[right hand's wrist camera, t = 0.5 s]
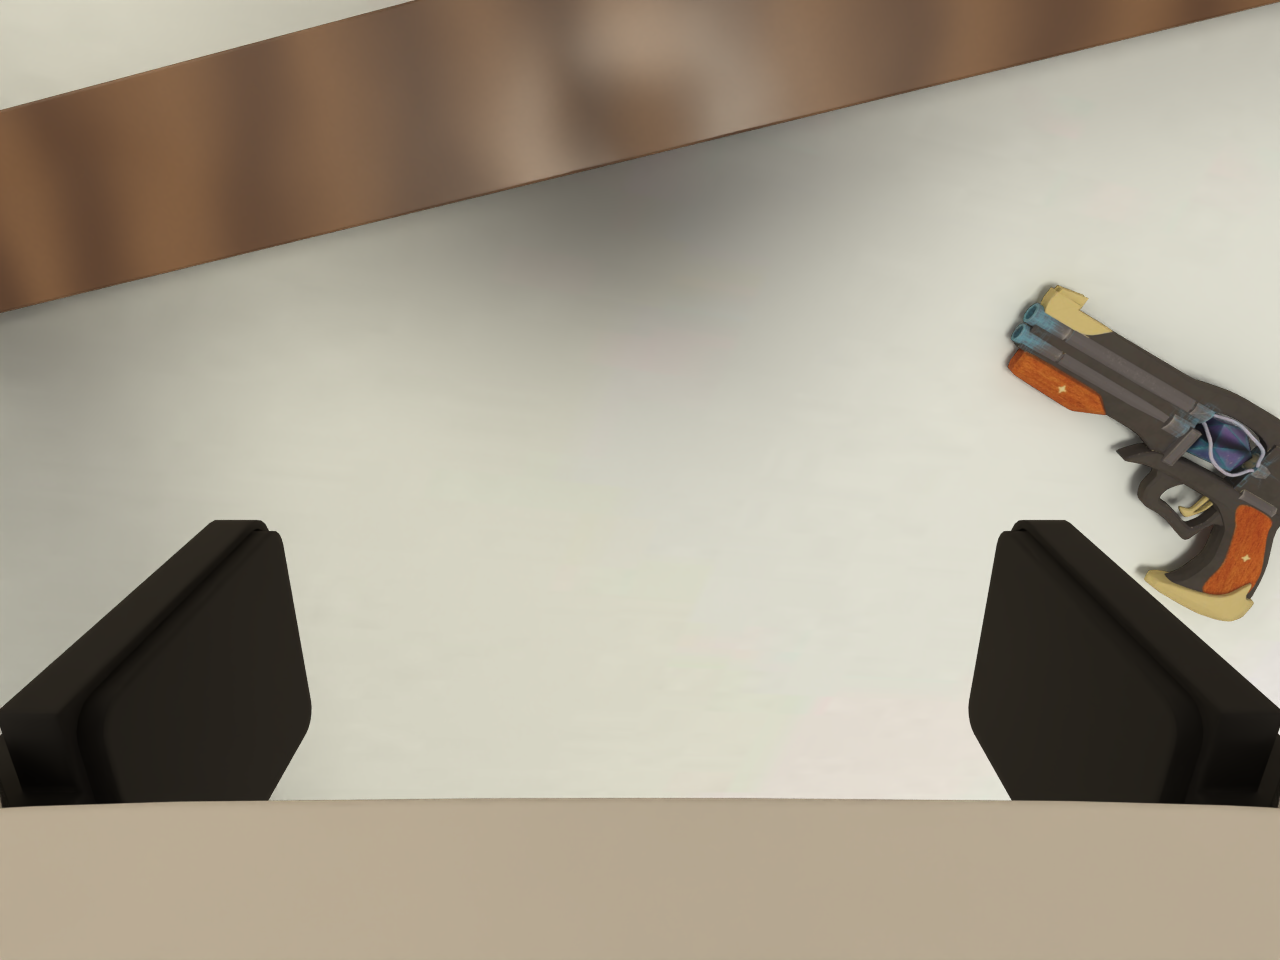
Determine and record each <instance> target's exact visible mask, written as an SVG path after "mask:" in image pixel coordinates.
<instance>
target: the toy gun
mask: <svg viewBox="0 0 1280 960" xmlns="http://www.w3.org/2000/svg"><path fill="white" fill-rule="evenodd" d="M1088 299H1089V298H1087V297H1084V295H1082V294H1080V293H1077V292H1074V291H1072V290H1069V289H1066V288H1064V287H1061V286H1058V285H1057V286H1056V287H1055V289H1054V288H1052V287H1051V288H1050V289H1049V291H1048V292H1047V293H1046V295H1045V296H1044V298H1043V299H1042V301H1041V304H1039V303H1035V304H1033V305H1032V306H1031V307H1030V308H1029V309H1028V310H1027V311H1026V313H1025V315H1024V318H1023V320H1024V322H1025V323H1027V324H1028V325H1026V324H1024V323H1022V324H1020V325H1019V326H1017V327H1016V329H1015V330H1014V332H1013V333H1012V336H1011V340H1012V341H1014V344H1015V345H1016V346H1017V347H1019V350H1018V351H1017V352H1016V354H1015V355H1014V356H1013V357H1012V359H1011V360H1010V362H1009V365H1008V368H1009V369H1010V370H1011V372H1012V373H1013V374H1014V375H1016V376H1017V377H1018V378H1020V379H1022V380H1023V381H1025V382H1026V383H1028V384H1029V385H1031V386H1032V387H1034V388H1036V389H1037V390H1039V391H1040V392H1042V393H1043V394H1045V395H1047V396H1048V397H1050V398H1051V399H1053V400H1054V401H1056V402H1058V403H1059V404H1061V405H1062V406H1064V407H1066V408H1067V409H1069V410H1071V411H1077V412H1085V413H1093V414H1101V415H1108V416H1109V417H1111V418H1113V419H1115V420H1116V421H1118V422H1120V423H1121V424H1123V425H1125V426H1127V427H1128V428H1130V429H1131V430H1133V431H1134V432H1135V433H1137V434H1138V435H1139V437H1140V438H1141V439H1142V440H1143V442H1144V443H1139V444H1134V445H1131V446H1127V447H1124V448H1121V449H1118V450H1116V452H1117V453H1118V454H1119V455H1120V456H1121V457H1122V458H1123V459H1124V460H1125V461H1128V462H1134V463H1139V464H1143V465H1146V466H1149V467H1152V470H1151V472H1150V473H1149V474H1148V475H1147V476H1146V477H1145V478H1144V479H1143V480H1142V482H1141V483H1140V485H1139V488H1138V494H1137V495H1138V498H1139V500H1140V501H1141V502H1142V503H1143V504H1144V505H1145V506H1146V507H1148V508H1149V509H1151V510H1153V511H1155V512H1156V513H1158V514H1159V515H1161V516H1162V517H1163V518H1165V519H1166V520H1167V521H1168V523H1169V524H1170V525H1171V527H1172V528H1173V529H1174V530H1175V531H1176V533H1177V534H1178V535H1179V536H1180V537H1181V538H1182V539H1184V540H1186V539H1189V538H1191V537H1192V536H1193V535H1195V534H1196V533H1198V532H1199V531H1201V530H1202V529H1204V528H1206V527H1208V526H1210V525H1213V524H1214V525H1213V528H1212V531H1211V533H1210V536H1209V538H1208V540H1207V543H1206V545H1205V547H1204V548H1203V550H1202V551H1201V552H1200V553H1199V554H1198V555H1197V556H1196V557H1195V558H1193V559H1192V560H1191V561H1190V562H1188V563H1187V564H1185V565H1184V566H1182V567H1181V568H1179V569H1177V570H1174V571H1172V572H1166V571H1160V570H1150V571H1148V573H1147V574H1146V576H1145V578H1144V580H1145V581H1146V582H1147V583H1149V584H1150V585H1151V586H1152V587H1154V588H1155V589H1156V590H1158V591H1159V592H1160V593H1162V594H1164V595H1165V596H1167V597H1169V598H1170V599H1172V600H1174V601H1175V602H1177V603H1179V604H1181V605H1183V606H1185V607H1186V608H1188V609H1190V610H1192V611H1194V612H1196V613H1198V614H1201V615H1204V616H1207V617H1210V618H1213V619H1217V620H1222V621H1234V620H1236V619H1239V618H1241V617H1243V616H1244V615H1245V613H1246V612H1247V611H1248V610H1249V609H1250V608H1251V607H1252V605H1253V604H1254V602H1253V601H1252V600H1251V599H1250V598H1251V597H1252V596H1253V594H1254V592H1255V590H1256V589H1257V587H1258V585H1259V583H1260V581H1261V579H1262V577H1263V575H1264V572H1265V569H1266V567H1267V564H1268V560H1269V556H1270V551H1271V547H1272V543H1273V539H1274V536H1275V533H1276V531H1277V529H1278V528H1279V527H1280V419H1278V418H1277V417H1275V416H1273V415H1272V414H1270V413H1268V412H1267V411H1265V410H1263V409H1262V408H1260V407H1258V406H1257V405H1255V404H1253V403H1252V402H1250V401H1248V400H1247V399H1245V398H1243V397H1241V396H1239V395H1237V394H1235V393H1233V392H1231V391H1228V390H1226V389H1223V388H1220V387H1217V386H1215V385H1212V384H1209V383H1205V382H1202V381H1199V380H1196V379H1193V378H1191V377H1189V376H1188V375H1186V374H1184V373H1182V372H1181V371H1179V370H1177V369H1176V368H1174V367H1172V366H1171V365H1169V364H1167V363H1166V362H1164V361H1162V360H1161V359H1159V358H1157V357H1156V356H1154V355H1152V354H1150V353H1149V352H1147V351H1145V350H1144V349H1142V348H1140V347H1139V346H1137V345H1135V344H1134V343H1132V342H1130V341H1129V340H1127V339H1125V338H1124V337H1122V336H1120V335H1119V334H1117V333H1115V332H1114V331H1112V330H1111V329H1109V328H1108V327H1106V326H1105V325H1103V324H1102V323H1100V322H1098V321H1097V320H1095V319H1093V318H1092V317H1090V316H1089V315H1087V314H1085V313H1084V312H1082V311H1080V309H1081V308H1082V306H1083V305H1084V304H1085V302H1086V301H1087V300H1088ZM1215 413H1222V414H1225V415H1228V416H1230V417H1232V418H1234V419H1236V420H1238V421H1239V422H1241V423H1243V424H1244V425H1246V426H1248V427H1249V428H1250V429H1252V430H1253V431H1254V432H1255V434H1256V435H1257V436H1258V438H1259V440H1260V442H1259V441H1258V440H1257V439H1256V438H1255V437H1254V436H1253V435H1252V434H1251V433H1250V432H1249V431H1248V429H1247V428H1246V427H1244V426H1243V425H1242V424H1241V423H1239V422H1237V421H1236V420H1234V419H1231V418H1228V417H1224V416H1221V415H1217V414H1215ZM1233 423H1234V424H1233ZM1235 424H1236V425H1237V426H1236V425H1235ZM1247 435H1248V436H1249V437H1250V438H1251V439H1252V440H1253V442H1254V443H1255V444H1256V445H1257V446H1256V447H1255V448H1254V449H1253V450H1252V451H1251V449H1250V445H1249V441H1248V437H1247ZM1185 452H1188V453H1191V454H1193V455H1195V456H1197V457H1199V458H1201V459H1203V460H1205V461H1207V462H1210V463H1212V464H1213V465H1214V466H1215V467H1216V468H1217V469H1218V470H1219V471H1220V472H1222V473H1223V474H1224V475H1226V477H1225V478H1224V479H1222V478H1221V477H1219V476H1217V475H1215V474H1214V473H1212V472H1210V471H1209V470H1207V469H1205V468H1203V467H1201V466H1199V465H1197V464H1196V463H1194V462H1192V461H1190V460H1188V459H1186V458H1184V457H1181V456H1182V455H1183V454H1184V453H1185ZM1223 469H1224V470H1223ZM1225 470H1227V471H1229V472H1230V471H1231V472H1230V473H1228V472H1226V471H1225ZM1181 484H1185V485H1187V486H1189V487H1190V488H1192V489H1194V490H1195V491H1197V492H1199V493H1201V494H1202V495H1204V496H1203V497H1202V498H1201V499H1200V500H1199V501H1198V502H1197V503H1195V504H1194V505H1193V506H1192V507H1190V508H1185V507H1182V506H1178V508H1179V511H1180V513H1181V514H1182V515H1183V516H1184V517H1188V516H1192V515H1195V514H1198V513H1200V512H1203V511H1205V510H1206V509H1207V510H1206V511H1205V512H1203V513H1202V514H1201V515H1200V516H1198V517H1196V518H1194V519H1191V520H1189V521H1183V520H1182V519H1181V518H1180V517H1179V516H1178V515H1177V514H1176V512H1175V511H1174V510H1173V509H1172V508H1171V507H1170V506H1169V505H1168V504H1167V503H1166V502H1164V501H1163V500H1161V499H1160V496H1161V494H1162V493H1163V492H1165V491H1166V490H1167V489H1169V488H1171V487H1174V486H1177V485H1181ZM1208 500H1209V502H1207V501H1208ZM1205 502H1207V503H1206V504H1205V505H1204V506H1202V505H1203V504H1204V503H1205ZM1201 506H1202V507H1201ZM1199 507H1201V508H1199ZM1198 508H1199V509H1198Z"/></svg>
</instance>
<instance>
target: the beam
mask: <svg viewBox="0 0 1280 960" xmlns="http://www.w3.org/2000/svg"><path fill="white" fill-rule="evenodd" d="M1277 2H1280V0H414V1H410V2H406V3H402V4H399V5H395V6H391V7H387V8H384V9H380V10H376V11H372V12H368V13H365V14H361V15H357V16H353V17H350V18H346V19H342V20H338V21H335V22H331V23H327V24H323V25H320V26H316V27H312V28H308V29H304V30H301V31H297V32H293V33H289V34H286V35H282V36H278V37H274V38H271V39H267V40H263V41H259V42H256V43H252V44H248V45H244V46H240V47H237V48H233V49H229V50H225V51H222V52H218V53H214V54H210V55H207V56H203V57H199V58H195V59H192V60H188V61H184V62H180V63H176V64H173V65H169V66H165V67H161V68H158V69H154V70H150V71H146V72H143V73H139V74H135V75H131V76H127V77H124V78H120V79H116V80H112V81H109V82H105V83H101V84H97V85H94V86H90V87H86V88H82V89H79V90H75V91H71V92H67V93H63V94H60V95H56V96H52V97H48V98H45V99H41V100H37V101H33V102H30V103H26V104H22V105H18V106H15V107H11V108H7V109H3V110H0V313H3V312H7V311H11V310H15V309H19V308H23V307H28V306H32V305H36V304H40V303H44V302H48V301H52V300H56V299H60V298H65V297H69V296H73V295H77V294H81V293H85V292H89V291H93V290H97V289H102V288H106V287H110V286H114V285H118V284H122V283H126V282H130V281H134V280H139V279H143V278H147V277H151V276H155V275H159V274H163V273H167V272H171V271H175V270H180V269H184V268H188V267H192V266H196V265H200V264H204V263H208V262H212V261H217V260H221V259H225V258H229V257H233V256H237V255H241V254H245V253H249V252H254V251H258V250H262V249H266V248H270V247H274V246H278V245H282V244H286V243H291V242H295V241H299V240H303V239H307V238H311V237H315V236H319V235H323V234H328V233H332V232H336V231H340V230H344V229H348V228H352V227H356V226H360V225H365V224H369V223H373V222H377V221H381V220H385V219H389V218H393V217H397V216H402V215H406V214H410V213H414V212H418V211H422V210H426V209H430V208H434V207H439V206H443V205H447V204H451V203H455V202H459V201H463V200H467V199H471V198H476V197H480V196H484V195H488V194H492V193H496V192H500V191H504V190H508V189H513V188H517V187H521V186H525V185H529V184H533V183H537V182H541V181H545V180H550V179H554V178H558V177H562V176H566V175H570V174H574V173H578V172H582V171H586V170H591V169H595V168H599V167H603V166H607V165H611V164H615V163H619V162H623V161H628V160H632V159H636V158H640V157H644V156H648V155H652V154H656V153H660V152H665V151H669V150H673V149H677V148H681V147H685V146H689V145H693V144H697V143H702V142H706V141H710V140H714V139H718V138H722V137H726V136H730V135H734V134H739V133H743V132H747V131H751V130H755V129H759V128H763V127H767V126H771V125H776V124H780V123H784V122H788V121H792V120H796V119H800V118H804V117H808V116H813V115H817V114H821V113H825V112H829V111H833V110H837V109H841V108H845V107H850V106H854V105H858V104H862V103H866V102H870V101H874V100H878V99H882V98H887V97H891V96H895V95H899V94H903V93H907V92H911V91H915V90H919V89H924V88H928V87H932V86H936V85H940V84H944V83H948V82H952V81H956V80H960V79H965V78H969V77H973V76H977V75H981V74H985V73H989V72H993V71H997V70H1002V69H1006V68H1010V67H1014V66H1018V65H1022V64H1026V63H1030V62H1034V61H1039V60H1043V59H1047V58H1051V57H1055V56H1059V55H1063V54H1067V53H1071V52H1076V51H1080V50H1084V49H1088V48H1092V47H1096V46H1100V45H1104V44H1108V43H1113V42H1117V41H1121V40H1125V39H1129V38H1133V37H1137V36H1141V35H1145V34H1150V33H1154V32H1158V31H1162V30H1166V29H1170V28H1174V27H1178V26H1182V25H1187V24H1191V23H1195V22H1199V21H1203V20H1207V19H1211V18H1215V17H1219V16H1224V15H1228V14H1232V13H1236V12H1240V11H1244V10H1248V9H1252V8H1256V7H1261V6H1265V5H1269V4H1273V3H1277Z"/></svg>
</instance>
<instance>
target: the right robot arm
mask: <svg viewBox="0 0 1280 960" xmlns="http://www.w3.org/2000/svg"><path fill="white" fill-rule="evenodd" d="M311 708H312V707H311V699H310V693H309V687H308V682H307V676H306V670H305V665H304V659H303V654H302V648H301V642H300V637H299V631H298V625H297V620H296V614H295V608H294V603H293V597H292V592H291V586H290V580H289V575H288V569H287V563H286V558H285V552H284V546H283V542H282V538H281V537H280V535H279V533H277V532H276V531H269V530H268V528H267V526H266V524H265V523H263V522H262V521H261V520H214V521H213V522H211V523H209V524H208V525H207V526H206V527H205V528H204V529H203V530H201V531H200V532H199V533H198V534H197V535H196V536H195V537H194V538H192V539H191V540H190V541H189V542H188V543H187V544H186V545H185V546H183V547H182V548H181V549H180V550H179V551H178V552H177V553H175V554H174V555H173V556H172V557H171V558H170V559H169V560H168V561H166V562H165V563H164V564H163V565H162V566H161V567H160V568H159V569H157V570H156V571H155V572H154V573H153V574H152V575H151V576H150V577H148V578H147V579H146V580H145V581H144V582H143V583H142V584H141V585H139V586H138V587H137V588H136V589H135V590H134V591H133V592H131V593H130V594H129V595H128V596H127V597H126V598H125V599H124V600H122V601H121V602H120V603H119V604H118V605H117V606H116V607H115V608H113V609H112V610H111V611H110V612H109V613H108V614H107V615H106V616H104V617H103V618H102V619H101V620H100V621H99V622H98V623H97V624H95V625H94V626H93V627H92V628H91V629H90V630H89V631H87V632H86V633H85V634H84V635H83V636H82V637H81V638H80V639H78V640H77V641H76V642H75V643H74V644H73V645H72V646H71V647H69V648H68V649H67V650H66V651H65V652H64V653H63V654H62V655H60V656H59V657H58V658H57V659H56V660H55V661H54V662H53V663H51V664H50V665H49V666H48V667H47V668H46V669H45V670H43V671H42V672H41V673H40V674H39V675H38V676H37V677H36V678H34V679H33V680H32V681H31V682H30V683H29V684H28V685H27V686H25V687H24V688H23V689H22V690H21V691H20V692H19V693H18V694H16V695H15V696H14V697H13V698H12V699H11V700H10V701H9V702H7V703H6V704H5V705H4V706H3V707H2V708H1V709H0V728H1V731H2V734H1V735H0V960H1280V735H1279V734H1278V731H1279V728H1280V709H1279V708H1278V707H1277V706H1276V705H1275V704H1274V703H1273V702H1271V701H1270V700H1269V699H1268V698H1267V697H1266V696H1265V695H1264V694H1262V693H1261V692H1260V691H1259V690H1258V689H1257V688H1256V687H1255V686H1253V685H1252V684H1251V683H1250V682H1249V681H1248V680H1247V679H1246V678H1244V677H1243V676H1242V675H1241V674H1240V673H1239V672H1238V671H1237V670H1235V669H1234V668H1233V667H1232V666H1231V665H1230V664H1229V663H1227V662H1226V661H1225V660H1224V659H1223V658H1222V657H1221V656H1220V655H1218V654H1217V653H1216V652H1215V651H1214V650H1213V649H1212V648H1211V647H1209V646H1208V645H1207V644H1206V643H1205V642H1204V641H1203V640H1202V639H1200V638H1199V637H1198V636H1197V635H1196V634H1195V633H1194V632H1193V631H1191V630H1190V629H1189V628H1188V627H1187V626H1186V625H1185V624H1183V623H1182V622H1181V621H1180V620H1179V619H1178V618H1177V617H1176V616H1174V615H1173V614H1172V613H1171V612H1170V611H1169V610H1168V609H1167V608H1165V607H1164V606H1163V605H1162V604H1161V603H1160V602H1159V601H1158V600H1156V599H1155V598H1154V597H1153V596H1152V595H1151V594H1150V593H1149V592H1147V591H1146V590H1145V589H1144V588H1143V587H1142V586H1141V585H1139V584H1138V583H1137V582H1136V581H1135V580H1134V579H1133V578H1132V577H1130V576H1129V575H1128V574H1127V573H1126V572H1125V571H1124V570H1123V569H1121V568H1120V567H1119V566H1118V565H1117V564H1116V563H1115V562H1114V561H1112V560H1111V559H1110V558H1109V557H1108V556H1107V555H1106V554H1105V553H1103V552H1102V551H1101V550H1100V549H1099V548H1098V547H1097V546H1095V545H1094V544H1093V543H1092V542H1091V541H1090V540H1089V539H1088V538H1086V537H1085V536H1084V535H1083V534H1082V533H1081V532H1080V531H1079V530H1077V529H1076V528H1075V527H1074V526H1073V525H1072V524H1071V523H1069V522H1067V521H1066V520H1019V521H1018V522H1017V523H1015V524H1014V526H1013V528H1012V530H1011V531H1004V532H1003V533H1001V535H1000V537H999V538H998V542H997V546H996V552H995V558H994V563H993V569H992V575H991V580H990V586H989V592H988V597H987V603H986V608H985V614H984V620H983V625H982V631H981V637H980V642H979V648H978V654H977V659H976V665H975V670H974V676H973V682H972V687H971V693H970V699H969V707H968V708H969V720H970V724H971V728H972V730H973V732H974V734H975V736H976V738H977V740H978V741H979V743H980V745H981V747H982V749H983V750H984V752H985V754H986V756H987V757H988V759H989V761H990V763H991V765H992V766H993V768H994V770H995V772H996V773H997V775H998V777H999V779H1000V780H1001V782H1002V784H1003V786H1004V788H1005V789H1006V791H1007V793H1008V795H1009V796H1010V798H1011V800H1012V801H999V800H885V799H771V798H471V799H381V800H291V801H268V800H269V798H270V796H271V795H272V793H273V791H274V789H275V788H276V786H277V784H278V782H279V780H280V779H281V777H282V775H283V773H284V772H285V770H286V768H287V766H288V765H289V763H290V761H291V759H292V757H293V756H294V754H295V752H296V750H297V749H298V747H299V745H300V743H301V741H302V740H303V738H304V736H305V734H306V732H307V730H308V728H309V724H310V720H311Z"/></svg>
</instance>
